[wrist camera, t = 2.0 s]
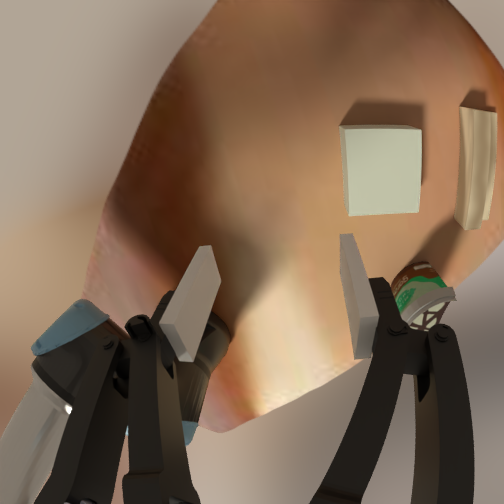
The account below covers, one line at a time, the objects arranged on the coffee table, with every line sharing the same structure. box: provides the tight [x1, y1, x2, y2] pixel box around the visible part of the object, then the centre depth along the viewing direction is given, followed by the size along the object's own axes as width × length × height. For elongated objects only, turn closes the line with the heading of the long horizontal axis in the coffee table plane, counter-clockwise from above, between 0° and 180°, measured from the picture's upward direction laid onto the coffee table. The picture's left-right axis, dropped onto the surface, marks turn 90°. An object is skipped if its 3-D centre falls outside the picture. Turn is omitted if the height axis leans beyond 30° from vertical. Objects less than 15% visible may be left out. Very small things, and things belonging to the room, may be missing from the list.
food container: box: [391, 262, 456, 331], centre depth 35 cm, size 12×6×10 cm, turn 176°
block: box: [339, 125, 422, 216], centre depth 29 cm, size 9×10×4 cm
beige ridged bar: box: [454, 106, 497, 230], centre depth 26 cm, size 6×16×4 cm, turn 10°
